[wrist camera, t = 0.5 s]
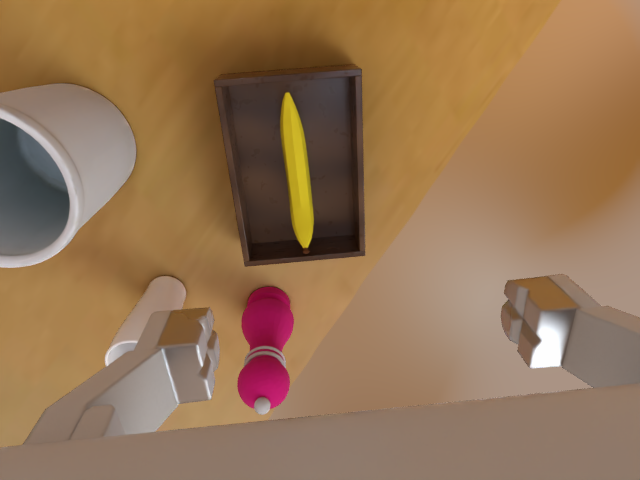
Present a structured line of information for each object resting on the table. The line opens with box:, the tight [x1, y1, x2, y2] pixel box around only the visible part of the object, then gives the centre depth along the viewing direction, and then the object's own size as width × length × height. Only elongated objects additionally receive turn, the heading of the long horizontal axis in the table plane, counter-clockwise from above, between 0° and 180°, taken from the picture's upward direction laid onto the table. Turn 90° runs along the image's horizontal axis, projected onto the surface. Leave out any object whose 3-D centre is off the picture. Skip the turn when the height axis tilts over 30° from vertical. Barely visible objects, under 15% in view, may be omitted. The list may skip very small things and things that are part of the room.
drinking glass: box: [105, 276, 186, 366], centre depth 55 cm, size 7×7×15 cm
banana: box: [280, 91, 314, 254], centre depth 51 cm, size 3×19×6 cm, turn 6°
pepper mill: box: [238, 287, 294, 414], centre depth 55 cm, size 7×7×20 cm
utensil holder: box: [0, 83, 136, 268], centre depth 44 cm, size 15×15×18 cm
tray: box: [214, 64, 365, 267], centre depth 52 cm, size 22×15×6 cm
